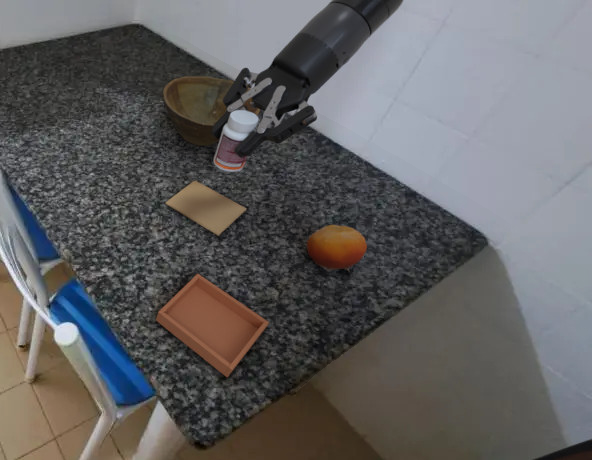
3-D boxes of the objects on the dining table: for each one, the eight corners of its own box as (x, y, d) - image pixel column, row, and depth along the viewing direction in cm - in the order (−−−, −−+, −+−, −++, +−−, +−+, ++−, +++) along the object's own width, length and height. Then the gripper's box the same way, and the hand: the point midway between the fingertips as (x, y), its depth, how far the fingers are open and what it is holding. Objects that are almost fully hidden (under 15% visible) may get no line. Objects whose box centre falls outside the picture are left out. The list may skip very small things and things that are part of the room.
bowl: (264, 133, 95) (280, 94, 88) (218, 176, 83) (232, 135, 76) (186, 102, 105) (195, 65, 98) (135, 137, 93) (141, 97, 86)
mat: (246, 210, 76) (246, 208, 75) (218, 236, 71) (218, 234, 71) (194, 181, 82) (194, 180, 81) (165, 203, 77) (165, 202, 76)
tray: (263, 330, 58) (269, 322, 56) (227, 377, 53) (232, 370, 51) (194, 282, 64) (197, 273, 62) (155, 320, 59) (158, 311, 57)
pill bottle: (247, 173, 61) (266, 125, 55) (216, 172, 61) (232, 125, 55) (238, 155, 64) (256, 108, 58) (210, 154, 64) (224, 108, 58)
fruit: (332, 284, 62) (336, 236, 60) (296, 267, 69) (299, 224, 67) (376, 276, 63) (381, 229, 61) (336, 261, 71) (340, 218, 68)
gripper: (273, 15, 55) (186, 110, 61) (361, 53, 47) (250, 161, 52) (286, 47, 61) (205, 132, 66) (367, 87, 52) (266, 181, 57)
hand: (226, 144), depth 59 cm, fingers closed on pill bottle, 4 cm apart
